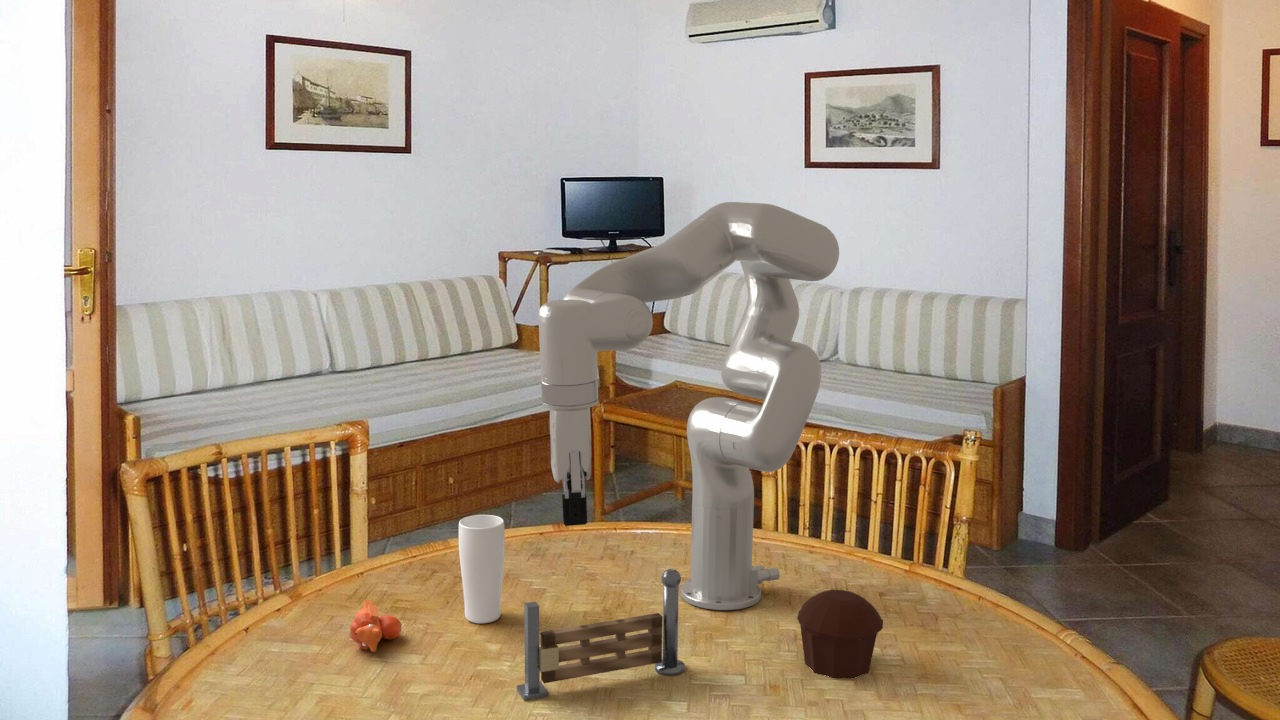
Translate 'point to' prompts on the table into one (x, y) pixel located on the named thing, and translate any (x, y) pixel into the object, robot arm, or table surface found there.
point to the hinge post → (670, 625)
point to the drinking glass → (482, 566)
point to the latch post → (536, 656)
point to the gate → (605, 646)
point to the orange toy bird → (373, 627)
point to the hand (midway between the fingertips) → (575, 522)
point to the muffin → (839, 633)
